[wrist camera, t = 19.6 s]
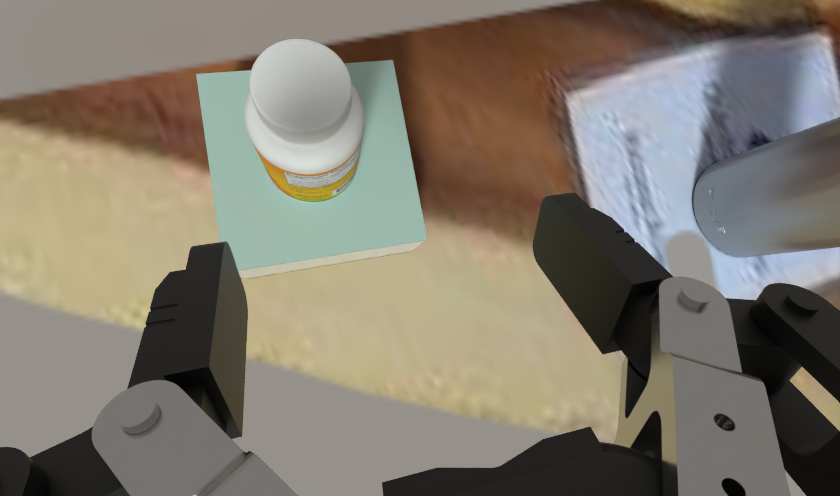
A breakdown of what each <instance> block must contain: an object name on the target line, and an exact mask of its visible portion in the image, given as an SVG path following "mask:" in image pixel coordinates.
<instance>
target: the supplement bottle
mask: <svg viewBox="0 0 840 496" xmlns="http://www.w3.org/2000/svg"><path fill="white" fill-rule="evenodd" d="M249 87H250V90H249V92H248V95H247V98H246V102H245V110H244V114H245V123H246V128H247V131H248V134H249V136H250V139H251V141H252V143H253V145H254V147H255V149H256V151H257V153H258V155H259V157H260V159H261V161H262V163H263V165H264V167H265V169H266V171H267V173H268V175H269V177H270V178H271V180H272V182H273V183H274V184H275V186H276V187H277V188H278V189H279V190H280V191H281V192H282V193H284V194H285V195H286V196H288V197H290V198H292V199H294V200H297V201H300V202H304V203H323V202H327V201H329V200H332V199H334V198H336V197H338V196H339V195H341V194H342V193H343V192H344V191H345V190H346V189H347V188H348V187H349V186H350V184H351V183H352V181H353V179H354V177H355V174H356V171H357V167H358V162H359V155H360V149H361V142H362V136H363V130H364V112H363V106H362V103H361V100H360V97H359V95H358V93H357V91H356V89H355V88H354V86H353V85H352V83H351V78H350V75H349V72H348V70H347V68H346V66H345V64H344V63H343V61H342V60H341V59H340V57H339V56H338V55H337V54H336V53H335V52H334V51H332V50H331V49H329V48H328V47H326V46H325V45H323V44H321V43H318V42H315V41H312V40H307V39H301V38H299V39H298V38H297V39H296V38H295V39H286V40H283V41H279V42H277V43H275V44H273V45H271V46H269V47H268V48H267V49H265V50H264V51H263V52H262V53H261V54H260V55H259V57H258V58H257V59H256V61H255V63H254V65H253V67H252V70H251V73H250V81H249Z"/></svg>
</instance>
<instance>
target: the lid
mask: <svg viewBox="0 0 840 496" xmlns="http://www.w3.org/2000/svg"><path fill="white" fill-rule="evenodd" d="M344 64H345V66H346V68H347V70H348V72H349V75H350V78H351V83H352V85H353V86H354V88H355V89H356V91H357V93H358V95H359V97H360V100H361V103H362V106H363V112H364V130H363V136H362V142H361V149H360V155H359V162H358V167H357V171H356V174H355V177H354V179H353V181H352V183H351V184H350V186H349V187H348V188H347V189H346V190H345V191H344V192H343V193H342V194H341V195H339V196H338V197H336V198H334V199H332V200H329V201H327V202H323V203H304V202H300V201H297V200H294V199H292V198H290V197H288V196H286V195H285V194H284V193H282V192H281V191H280V190H279V189H278V188H277V187H276V186H275V184H274V183H273V182H272V180H271V178H270V177H269V175H268V173H267V171H266V169H265V167H264V165H263V163H262V161H261V159H260V157H259V155H258V153H257V151H256V149H255V147H254V145H253V143H252V141H251V139H250V136H249V134H248V131H247V128H246V123H245V114H244V110H245V102H246V98H247V95H248V92H249V90H250V87H249V81H250V73H251V70H247V71H233V72H219V73H206V74H196V76H197V83H198V90H199V97H200V104H201V111H202V118H203V125H204V132H205V139H206V147H207V154H208V161H209V168H210V175H211V182H212V189H213V196H214V203H215V210H216V217H217V224H218V231H219V238H220V242H228V244H229V246H230V248H231V251H232V254H233V257H234V260H235V263H236V266H237V269H238V271H244V270H250V269H256V268H262V267H269V266H275V265H281V264H287V263H293V262H299V261H305V260H311V259H318V258H324V257H330V256H336V255H342V254H348V253H354V252H360V251H367V250H373V249H379V248H385V247H391V246H397V245H403V244H409V243H416V242H422V241H425V240H427V236H426V230H425V225H424V220H423V215H422V209H421V204H420V199H419V194H418V189H417V183H416V178H415V173H414V168H413V162H412V157H411V152H410V147H409V141H408V136H407V131H406V126H405V120H404V115H403V110H402V105H401V100H400V94H399V89H398V84H397V79H396V73H395V68H394V63H393V60H384V61H371V62H357V63H344Z"/></svg>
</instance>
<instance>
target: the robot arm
mask: <svg viewBox="0 0 840 496" xmlns="http://www.w3.org/2000/svg"><path fill="white" fill-rule="evenodd" d="M693 205H694V212H695V217H696V220H697V223H698V225H699V227H700V229H701V231H702V233H703V235H704V236H705V237H706V238H707V240H708V241H709V242H710V243H711V244H712V245H713V246H714V247H716V248H717V249H718V250H720V251H721V252H723V253H725V254H727V255H731V256H734V257H753V256H762V255H771V254H780V253H790V252H799V251H808V250H817V249H826V248H835V247H840V117H839V118H836V119H833V120H830V121H828V122H825V123H822V124H819V125H817V126H814V127H811V128H809V129H806V130H803V131H800V132H798V133H795V134H792V135H789V136H787V137H784V138H781V139H779V140H776V141H773V142H770V143H768V144H765V145H762V146H759V147H756V148H753V149H751V150H748V151H745V152H743V153H740V154H737V155H735V156H732V157H729V158H727V159H724V160H721V161H719V162H716V163H714V164H712V165H711V166H709V167H708V168H707V169H706V170H705V171H704V172H703V173H702V174H701V176H700V178H699V180H698V182H697V184H696V187H695V191H694V202H693ZM533 252H534V257H535V259H536V262H537V264H538V265H539V267H540V268H541V269H542V271H543V272H544V273H545V275H546V276H547V278H548V279H549V280H550V282H551V283H552V285H553V286H554V287H555V289H556V290H557V292H558V293H559V294H560V296H561V297H562V298H563V300H564V301H565V303H566V304H567V305H568V307H569V308H570V310H571V311H572V312H573V314H574V315H575V317H576V318H577V319H578V321H579V322H580V323H581V325H582V326H583V328H584V329H585V330H586V332H587V333H588V335H589V336H590V337H591V339H592V340H593V342H594V343H595V344H596V346H597V347H598V348H599V350H600V351H601V353H602V354H607V353H611V352H615V351H620V350H622V352H623V353H624V354H625V356H626V357H625V359H624V361H623V363H622V372H621V388H620V404H619V419H618V429H617V434H616V438H615V441H614V444H610V443H603V442H599V441H598V439H597V437H596V436H595V434H594V432H593V431H592V429H591V427H587V428H583V429H580V430H576V431H572V432H568V433H565V434H561V435H557V436H554V437H550V438H546V439H543V440H541V441H540V442H538V443H536V444H535V445H533V446H532V447H530V448H528V449H527V450H525V451H524V452H522V453H521V454H519V455H517V456H516V457H514V458H513V459H511V460H510V461H508V462H506V463H505V464H503V465H501V466H499V467H496V468H435V469H431V470H427V471H424V472H420V473H416V474H413V475H409V476H405V477H401V478H398V479H394V480H390V481H386V482H382V486H383V496H790V492H789V488H788V483H787V479H786V474H785V470H786V472H787V473H788V474H789V475H790V476H791V478H792V479H793V480H794V481H795V482H796V484H797V485H798V486H799V487H800V488H801V489H802V491H803V492H804V493H805V494H806V496H840V431H839V430H838V429H837V428H836V427H835V426H834V425H833V424H832V423H831V422H830V421H829V420H828V419H827V418H826V417H825V416H824V415H823V414H822V413H821V412H820V411H819V410H818V409H817V408H816V407H815V406H814V405H813V404H812V403H811V402H810V401H809V400H808V399H807V398H806V397H805V396H804V395H803V394H802V393H801V392H800V391H799V390H798V389H797V388H796V387H795V386H794V385H793V384H792V383H791V382H790V381H789V380H790V379H791V378H792V377H793V376H794V375H795V374H796V372H797V371H798V370H799V369H800V368H801V367H803V368H804V369H805V370H806V371H807V372H808V373H810V374H811V375H812V376H813V377H814V378H815V379H816V380H817V381H818V382H819V383H820V384H821V385H822V386H823V387H824V388H825V389H826V390H827V391H828V392H829V393H830V394H831V395H832V396H834V397H835V398H836V399H837V400H838V401H839V402H840V311H839V310H838V309H837V308H835V307H834V306H833V305H832V304H830V303H829V302H828V301H826V300H825V299H824V298H822V297H821V296H819V295H817V294H815V293H813V292H811V291H809V290H807V289H805V288H802V287H799V286H795V285H791V284H785V283H775V284H770V285H768V286H766V287H765V288H764V289H763V291H762V292H761V294H760V295H759V297H758V298H757V300H743V299H728V298H725V297H724V296H723V295H722V294H721V293H720V292H719V291H717V290H716V289H715V288H713V287H711V286H710V285H708V284H706V283H704V282H701V281H699V280H695V279H692V278H687V277H673V276H672V275H671V274H670V273H669V272H668V271H667V270H666V269H665V268H664V267H663V266H662V265H661V264H660V263H658V262H657V261H656V260H655V259H654V258H653V257H652V256H651V255H650V254H649V253H648V252H647V251H646V250H645V249H644V248H643V247H642V246H641V245H640V244H639V243H638V242H636V243H635V241H634V239H633V238H632V237H631V236H630V235H629V234H628V233H627V232H624V229H623V228H622V227H621V226H620V225H619V224H618V223H617V222H616V221H615V220H613V219H612V218H611V217H609V216H607V215H606V214H604V213H602V212H600V211H598V210H596V209H594V208H590V207H589V206H588V205H587V204H586V203H585V202H584V201H583V200H582V199H581V198H580V197H579V196H578V195H577V194H575V193H567V194H560V195H553V196H547V197H545V198H544V199H543V201H542V204H541V208H540V213H539V217H538V222H537V227H536V231H535V236H534V240H533ZM150 309H151V312H149V314H148V317H147V321H146V327H145V328H144V332H143V335H142V339H141V342H140V346H139V350H138V353H137V357H136V360H135V364H134V367H133V371H132V375H131V378H130V382H129V385H128V388H127V390H125V391H123V392H122V393H120V394H119V395H118V396H116V397H115V398H114V399H112V400H111V401H110V402H109V403H108V404H107V405H106V406H105V407H104V409H103V410H102V411H101V413H100V414H99V415H98V417H97V419H96V421H95V423H94V426H93V427H92V428H90V429H89V430H87V431H85V432H83V433H82V434H79V435H77V436H75V437H73V438H71V439H69V440H66V441H64V442H62V443H60V444H58V445H56V446H54V447H51V448H49V449H47V450H45V451H43V452H41V453H39V454H36V455H34V456H32V457H28V456H27V455H26V454H25V453H24V452H22V451H21V450H19V449H16V448H11V447H0V496H298V495H296V493H294V491H293V490H292V489H291V488H290V487H289V486H288V485H287V484H286V483H285V482H284V481H283V480H282V479H281V478H280V477H279V476H278V475H277V474H275V473H274V471H273V470H271V469H270V468H269V467H268V466H267V465H266V464H265V463H264V462H263V461H262V460H261V459H260V458H259V457H258V456H257V455H255V454H254V453H252V452H250V451H249V452H247V453H246V452H244V451H243V450H242V449H240V447H239V446H237V444H236V443H234V441H233V440H232V439H233V438H237V437H242V427H243V406H244V405H243V404H244V383H245V363H246V341H247V320H248V308H247V300H246V294H245V290H244V287H243V284H242V281H241V278H240V275H239V272H238V269H237V266H236V263H235V260H234V257H233V254H232V251H231V248H230V246H229V244H228V242H219V243H212V244H205V245H198V246H192V247H191V249H190V252H189V257H188V262H187V266H186V270H180V271H174V272H170V273H169V274H168V275H167V276H166V277H165V279H164V280H163V281H162V282H161V283H160V285H159V286H158V287H157V288H156V289H155V293H154V296H153V300H152V303H151V307H150ZM784 469H785V470H784Z"/></svg>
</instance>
